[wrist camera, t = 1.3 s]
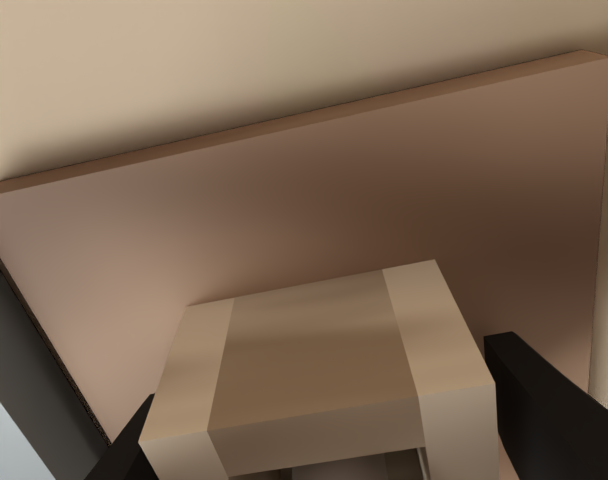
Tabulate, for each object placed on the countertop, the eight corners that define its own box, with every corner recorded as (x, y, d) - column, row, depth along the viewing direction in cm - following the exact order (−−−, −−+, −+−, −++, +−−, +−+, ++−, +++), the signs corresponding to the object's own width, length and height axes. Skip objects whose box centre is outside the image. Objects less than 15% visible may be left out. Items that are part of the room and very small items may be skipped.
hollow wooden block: (454, 435, 12) (505, 584, 9) (252, 466, 13) (237, 618, 10) (434, 259, 10) (495, 383, 7) (185, 306, 10) (138, 442, 7)
